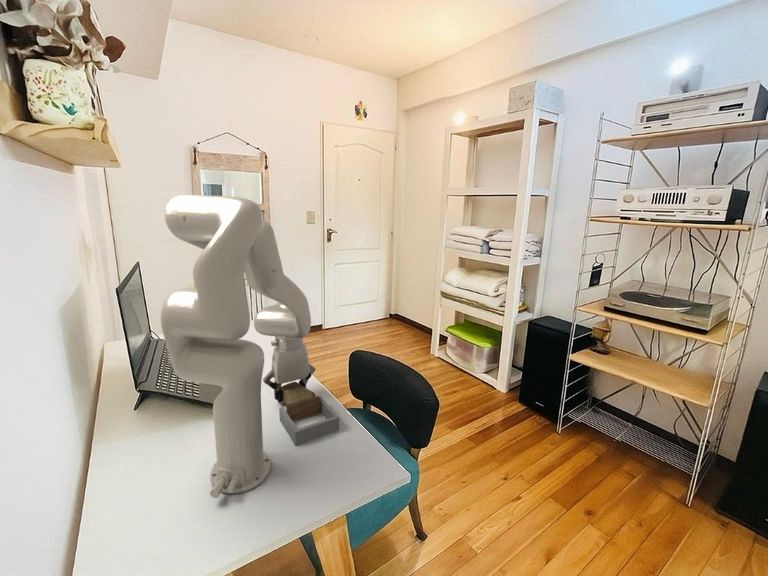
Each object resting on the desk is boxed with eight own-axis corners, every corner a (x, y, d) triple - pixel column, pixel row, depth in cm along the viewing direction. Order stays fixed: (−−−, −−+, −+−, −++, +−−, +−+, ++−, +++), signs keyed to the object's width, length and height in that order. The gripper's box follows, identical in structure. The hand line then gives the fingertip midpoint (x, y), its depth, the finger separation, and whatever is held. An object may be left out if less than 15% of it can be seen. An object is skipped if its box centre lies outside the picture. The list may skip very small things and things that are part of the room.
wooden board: (320, 413, 103) (320, 397, 101) (287, 423, 97) (287, 407, 96) (318, 411, 104) (318, 395, 102) (286, 421, 98) (286, 405, 97)
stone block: (301, 416, 100) (301, 400, 99) (277, 401, 107) (277, 385, 106) (317, 408, 105) (317, 392, 103) (293, 393, 112) (293, 379, 110)
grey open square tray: (339, 430, 96) (339, 417, 95) (295, 446, 89) (295, 432, 88) (320, 408, 106) (320, 395, 105) (279, 420, 99) (279, 407, 98)
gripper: (263, 353, 96) (265, 412, 100) (322, 341, 106) (322, 395, 110) (255, 343, 102) (257, 399, 106) (312, 332, 112) (312, 384, 116)
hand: (290, 397), depth 108 cm, fingers closed on stone block, 6 cm apart
